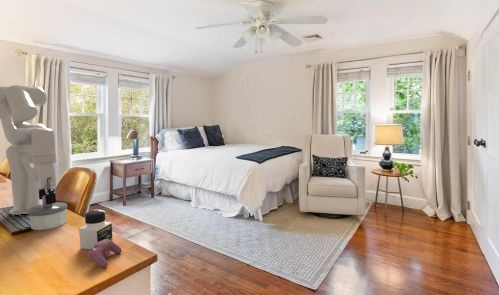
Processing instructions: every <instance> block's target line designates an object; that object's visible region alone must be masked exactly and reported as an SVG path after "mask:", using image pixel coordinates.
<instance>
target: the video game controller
mask: <svg viewBox="0 0 499 295" xmlns="http://www.w3.org/2000/svg"><path fill="white" fill-rule="evenodd" d="M111 252H112V253H115V254H121V253H122V248H121V247H120V245H118V244H116V243H115V242H114V241H111V240H109V239H105V240H102V241H99V242H97V243H96V244H95V245H94V246H93V247H92V249H91V250H89V251H88V254H87V257H88V259H89V261H91V262H93V263H94V264H95V265H96V266H98V267H100V268H103V269H104V268H107V267H108V264H109V263H108V261H107V260H106V259H107V258H109V257H110V256H111Z"/></svg>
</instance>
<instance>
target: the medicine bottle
mask: <svg viewBox="0 0 499 295" xmlns="http://www.w3.org/2000/svg"><path fill="white" fill-rule="evenodd" d="M84 219H85V220H84V222H85V225H84V226H81V227H79V228H78V230H79V231H78V233H79V249H84V250H89V251H90V250H91V249H92V247H93V246H94V245H95V244H96V243H97V242H99V241H102V240H105V239H109V240H111V241H113V240H114V239H113V226H112V225H113V224H112V222H109V221H106V211H105V210H102V209H93V210H90V211H87V212H86V213H85V214H84ZM113 242H114V241H113Z"/></svg>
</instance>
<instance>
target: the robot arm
mask: <svg viewBox="0 0 499 295" xmlns="http://www.w3.org/2000/svg"><path fill="white" fill-rule="evenodd" d="M47 99H48V97H47V94H46V92H45V90H44V89H43V88H42V87H39V86H33V85H32V86H30V85H18V84H17V85H16V84H15V85H10V86H0V122H1V125H2V129H3V130H2V131H3V132H4V136H5V138H6V141H7V142H8V143H10V144H11V145H9V146H8V147H6V151H5V156H6V159H7V163H8V167H9V173H10V183H11V193H12V203H13V208H12V209H10V210H9V212H10V213H12V214H27V210H28V209H29V208H31V207H34V206H37V205H41V201H42V196H44V195H45V199H46V204H47V205H48V204H53V203H56V202H57V197H56V188H55V187H56V186H57V185H56V182H57V181H56V173H55V165H54V164H55V163H57V157H56V142H55V141H56V140H55V131H54V129H52V128H48V127H46V125H44V124H43V123H29V121H30V120H33V119H34V118H35V117H37V115H38V108H37V107H41V106H44V105H45V104H46V103H47ZM31 165H34V167H33V166H31Z"/></svg>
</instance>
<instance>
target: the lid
mask: <svg viewBox="0 0 499 295" xmlns="http://www.w3.org/2000/svg"><path fill="white" fill-rule="evenodd" d="M41 201H42V202H41V203H40V205H37V206H34V207H31V208H29V209H28V210H27V214H28V216H29V217H30V216H44V215H51V214H55V213H59V212H62V211H64V210H66V211H67V209H68V203H66V202H61V201H60V202H57V201H56V203H53V204H48V205H47V204H46V199H45V195H44V196H42V199H41Z"/></svg>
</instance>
